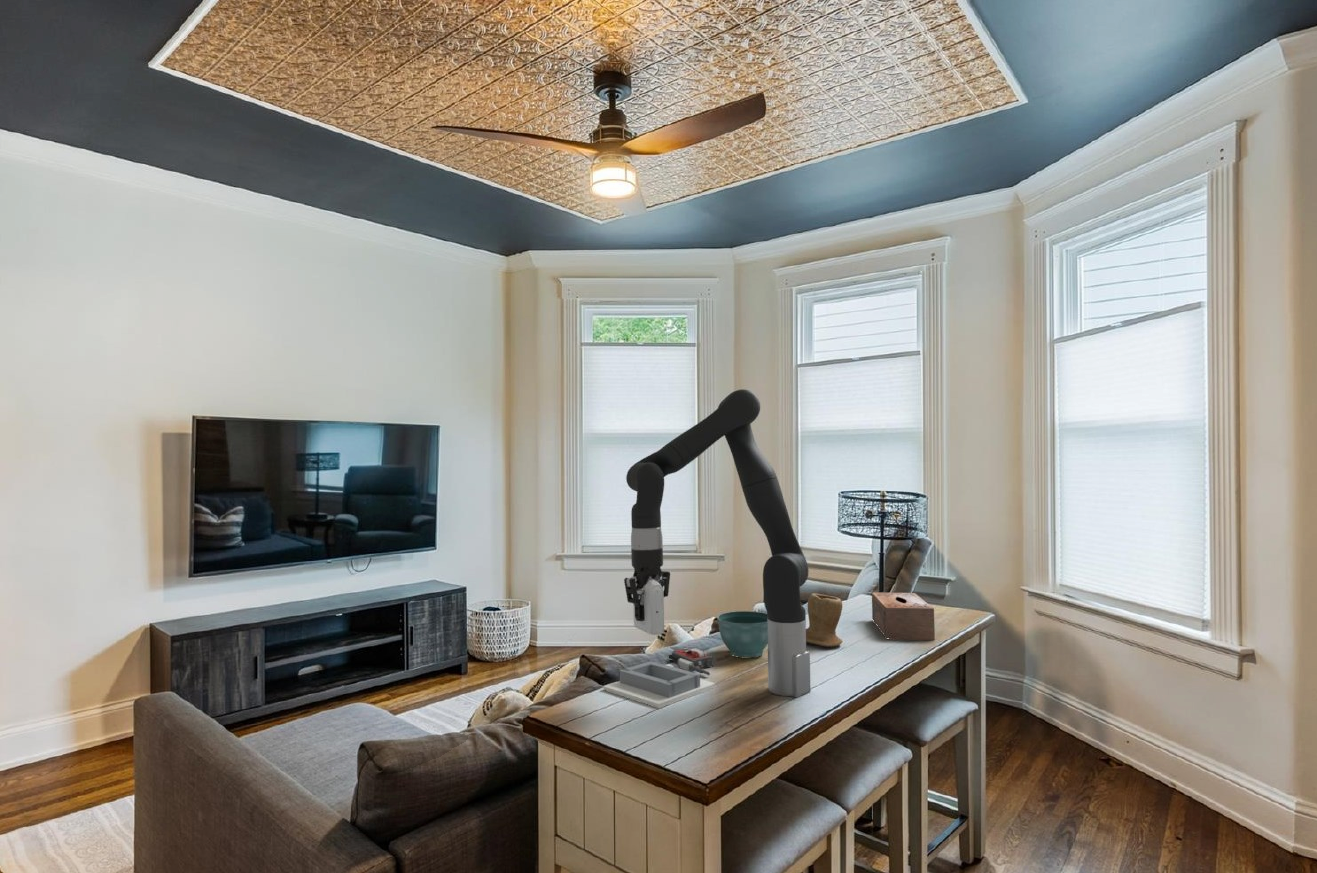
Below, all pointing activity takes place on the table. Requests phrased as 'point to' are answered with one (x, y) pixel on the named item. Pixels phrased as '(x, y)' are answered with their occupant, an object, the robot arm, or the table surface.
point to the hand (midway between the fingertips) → (648, 618)
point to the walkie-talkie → (692, 659)
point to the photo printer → (652, 609)
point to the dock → (652, 696)
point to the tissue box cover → (903, 616)
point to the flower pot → (744, 632)
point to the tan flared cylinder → (823, 620)
